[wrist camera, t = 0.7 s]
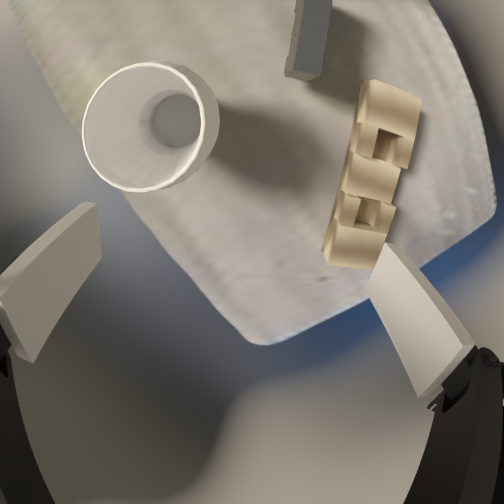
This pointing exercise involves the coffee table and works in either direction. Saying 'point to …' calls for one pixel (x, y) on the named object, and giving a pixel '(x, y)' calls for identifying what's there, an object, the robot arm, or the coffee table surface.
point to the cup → (150, 126)
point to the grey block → (308, 39)
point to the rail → (371, 174)
